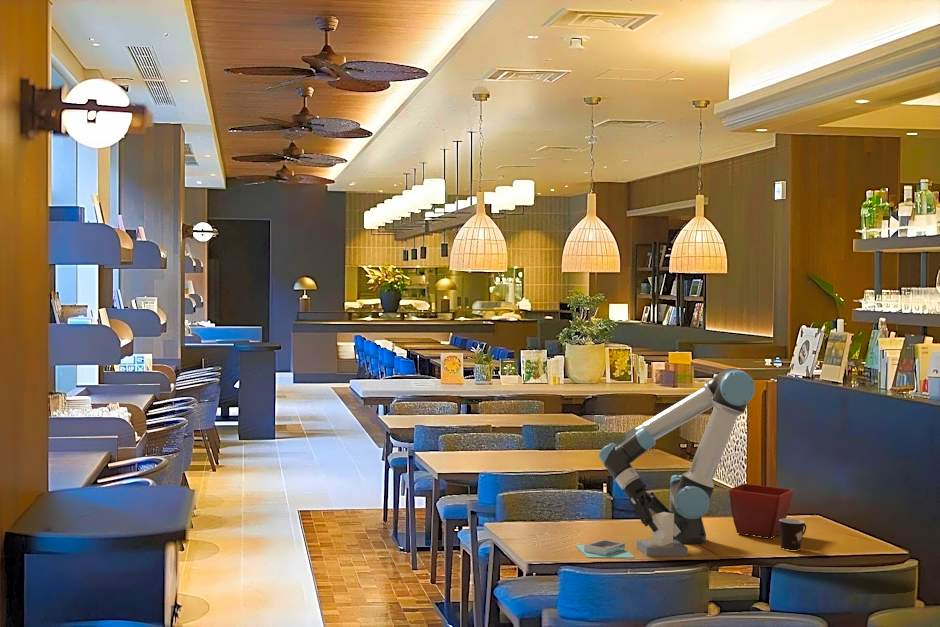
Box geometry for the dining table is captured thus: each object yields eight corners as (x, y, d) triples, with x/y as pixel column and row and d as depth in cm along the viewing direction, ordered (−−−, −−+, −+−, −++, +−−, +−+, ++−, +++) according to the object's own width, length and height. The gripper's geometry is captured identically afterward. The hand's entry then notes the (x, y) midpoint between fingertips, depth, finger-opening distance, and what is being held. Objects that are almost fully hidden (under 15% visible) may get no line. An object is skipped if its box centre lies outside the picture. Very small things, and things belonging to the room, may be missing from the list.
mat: (575, 545, 411) (575, 544, 411) (620, 546, 413) (620, 545, 413) (587, 557, 393) (587, 556, 393) (634, 558, 396) (634, 557, 396)
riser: (636, 548, 411) (637, 539, 411) (676, 548, 413) (676, 539, 413) (646, 556, 399) (647, 547, 399) (687, 556, 401) (687, 547, 401)
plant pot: (792, 533, 447) (794, 489, 447) (777, 542, 431) (779, 495, 430) (741, 527, 457) (743, 483, 456) (725, 535, 440) (727, 489, 440)
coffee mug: (784, 552, 414) (785, 523, 414) (773, 546, 422) (774, 518, 422) (815, 552, 416) (817, 523, 416) (804, 546, 425) (805, 518, 424)
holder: (583, 551, 401) (584, 544, 401) (602, 546, 411) (603, 539, 411) (606, 555, 396) (606, 549, 396) (624, 550, 406) (625, 543, 406)
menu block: (651, 544, 404) (652, 514, 404) (662, 540, 411) (663, 511, 410) (661, 546, 402) (663, 516, 401) (672, 542, 408) (674, 513, 408)
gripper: (622, 480, 403) (662, 534, 394) (654, 473, 421) (693, 525, 412) (608, 494, 406) (647, 547, 397) (640, 486, 424) (678, 538, 415)
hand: (670, 536), depth 404 cm, fingers open, 10 cm apart
